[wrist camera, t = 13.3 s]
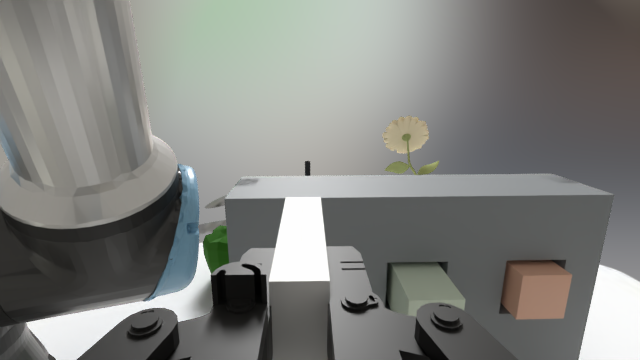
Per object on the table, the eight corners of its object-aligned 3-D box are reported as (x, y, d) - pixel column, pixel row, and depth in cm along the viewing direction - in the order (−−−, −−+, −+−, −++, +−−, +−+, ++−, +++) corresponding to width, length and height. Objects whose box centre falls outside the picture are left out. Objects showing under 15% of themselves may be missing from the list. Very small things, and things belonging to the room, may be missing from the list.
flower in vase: (451, 247, 66) (464, 114, 60) (449, 275, 56) (465, 119, 49) (383, 237, 70) (389, 113, 64) (370, 262, 60) (376, 117, 54)
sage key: (405, 349, 28) (409, 300, 26) (386, 298, 34) (388, 258, 33) (459, 347, 28) (465, 299, 27) (430, 297, 34) (433, 257, 33)
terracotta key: (516, 319, 31) (523, 275, 30) (478, 278, 38) (483, 242, 37) (563, 318, 31) (572, 274, 30) (518, 278, 38) (523, 241, 37)
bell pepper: (197, 277, 55) (191, 219, 53) (240, 260, 61) (237, 206, 59) (226, 298, 50) (220, 233, 47) (270, 276, 55) (268, 218, 53)
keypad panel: (238, 391, 34) (224, 198, 29) (251, 336, 42) (242, 176, 37) (573, 382, 35) (614, 194, 30) (525, 329, 43) (551, 173, 38)
